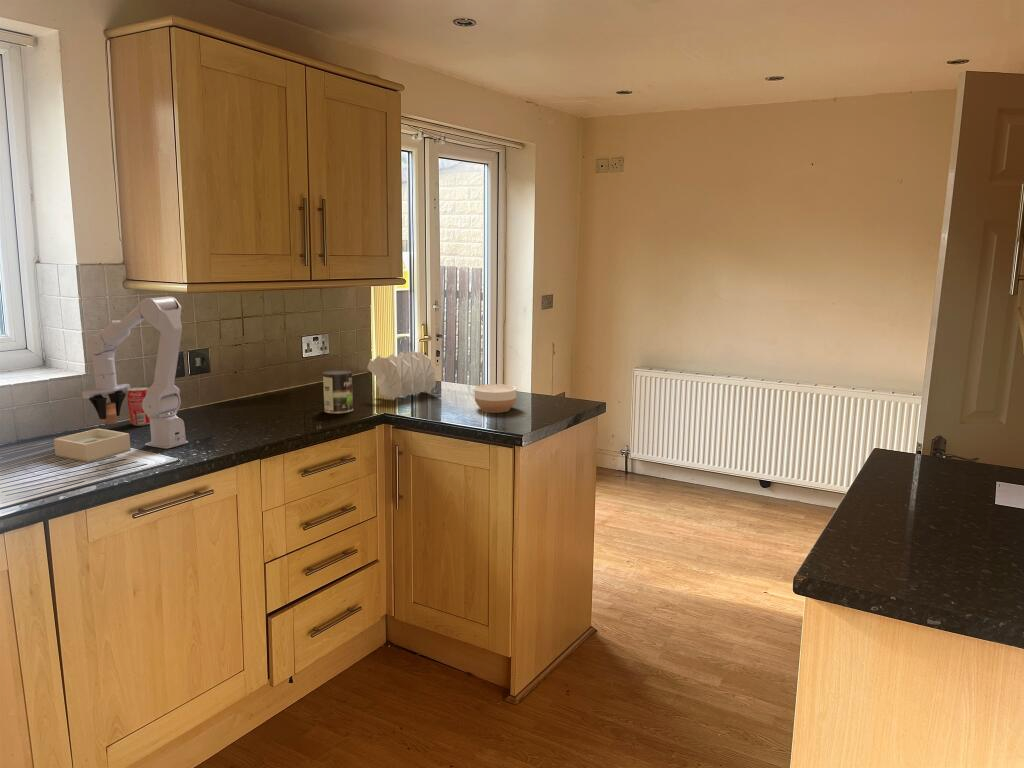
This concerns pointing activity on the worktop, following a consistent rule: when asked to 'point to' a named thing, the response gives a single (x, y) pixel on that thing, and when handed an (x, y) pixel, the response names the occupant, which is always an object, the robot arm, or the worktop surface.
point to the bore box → (92, 445)
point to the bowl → (495, 397)
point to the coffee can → (337, 391)
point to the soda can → (137, 406)
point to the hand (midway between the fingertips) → (109, 417)
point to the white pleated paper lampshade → (403, 374)
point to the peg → (110, 413)
